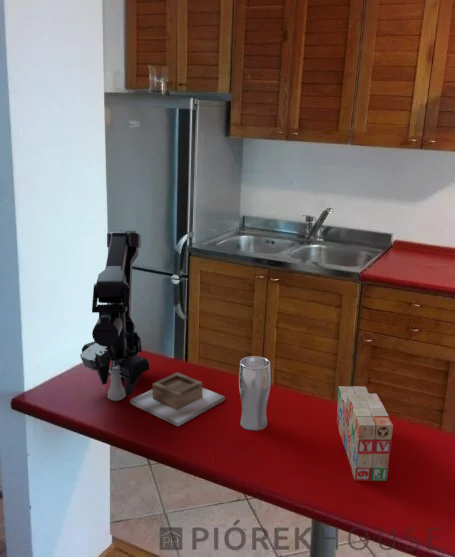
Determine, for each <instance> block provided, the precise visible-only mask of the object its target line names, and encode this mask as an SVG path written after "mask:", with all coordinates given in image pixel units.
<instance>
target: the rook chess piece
mask: <svg viewBox="0 0 455 557" xmlns="http://www.w3.org/2000/svg"><path fill="white" fill-rule="evenodd" d="M109 373H110V374H109V375H110V376H109V379H110V386H109V389H108V390H107V398H108V399H109V401H114V402H118V401H122V400H123V399H125V397H127V395H126V390H125V387H124V386H123V383H122V379H121V377H122V376H121V375H120V373H121V371H120V368H119V365H117V367H115V365H113V367H112V365H110V367H109Z"/></svg>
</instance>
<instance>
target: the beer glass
mask: <svg viewBox="0 0 455 557" xmlns="http://www.w3.org/2000/svg"><path fill="white" fill-rule="evenodd" d="M270 361H271V360H269V359H267V358H266V357H262V356H257V355H256V356H255V355H253V356H252V355H251V356H245V357H244V358H241V359H240V361H239V371H238V389H239V395H240V401H241V416H240V419H239V420H240V422H239V424H240V426H241V427H242V428H243V429H244V430H248V431H256V432H257V431H261V430H264V429H265V428H266V427H267V426H268V419H267V405H268V399H269V395H270V391H271V383H272V382H271V381H272V380H271V374H272V373H271V372H272V371H271V362H270Z"/></svg>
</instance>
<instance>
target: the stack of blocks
mask: <svg viewBox="0 0 455 557" xmlns="http://www.w3.org/2000/svg"><path fill="white" fill-rule="evenodd" d="M336 410H337V413H336V425H337V427H338V432H339V435H340V437H341V442H342V444H343V446H344V450H345V453H346V455H347V459H348V463H349V466H350V469H351V473H352V476H353V480H354V481H356V482H357V481H359V482H361V481H367V482H368V481H370V482H375V481H376V482H377V481H379V482H386V481H388V480H387V479H388V474H389V473H388V472H389V461H390V454H391V447H392V436H393V429H394V424H393V423H392V421H391V419H390V417H389V414H388V412H387V410H386V408H385V406H384V404H383V403H382V401H381V399H380V397H379V396H378V394H377V393H370V392H369V390H368V388H367V387H366V386H359V385H358V386H355V385H353V386H340V385H339V386H338V387H337V408H336Z"/></svg>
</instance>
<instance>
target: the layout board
mask: <svg viewBox="0 0 455 557" xmlns="http://www.w3.org/2000/svg"><path fill="white" fill-rule="evenodd" d="M151 386H152V387H151V389H150V390H148V391H146V392H144V393H141V394H139V395H137V396H135V397H133V398H131V399H129V401H130V402H129V403H130V405H132V406H135V407H136V408H139V409H140V410H143V411H144V412H146V413H149V414H150V415H153V416H155V417H157V418H159V419H162V420H164V421H165V422H168V423H169V424H172V425H174V426H175V427H180V426H181V425H183V424H186V423H187V422H190V420H192V419H195V417H198V416H199V415H202V413H204V412H205V413H206V412H207V411H208V410H210V409H211V408H213V407H215V406H217V405H219V404H221V403H222V402H224V401H225V399H226V398H225V395H222V394H220V393H217V392H215V391H212V390H209V389H207V388H204V387H203V381H200V380H198V379H195V378H193V377H191V376H188V375H185V374H182V373H181V372H178V371H177V372H175V373H172V374H171V375H169V376H166V377H164V378H161V379H160V380H157V381H156V382H153V383H152V385H151Z"/></svg>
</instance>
